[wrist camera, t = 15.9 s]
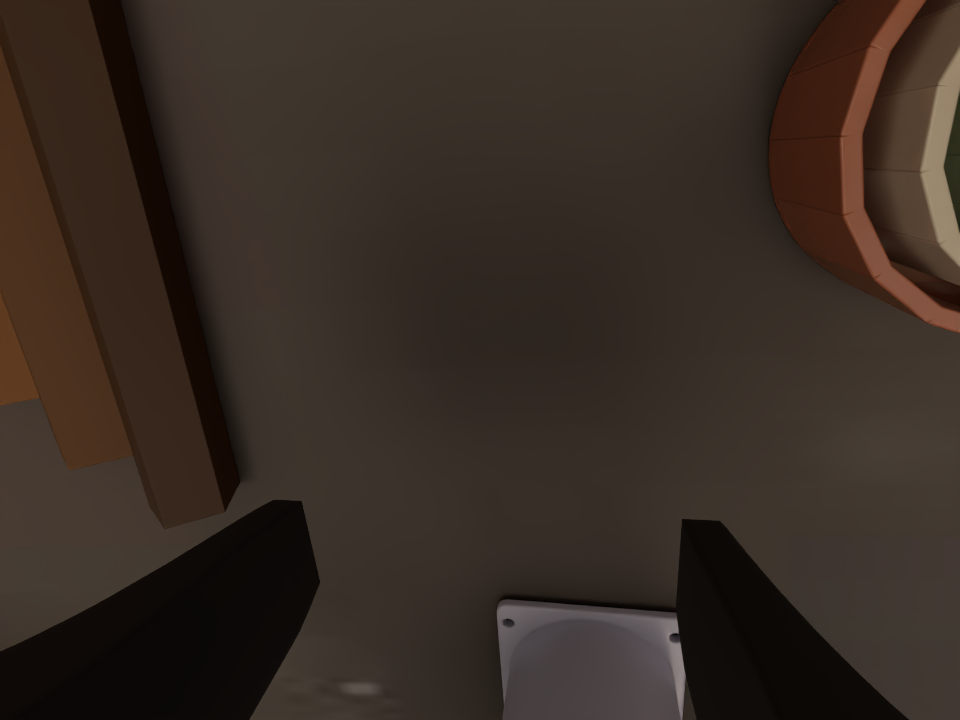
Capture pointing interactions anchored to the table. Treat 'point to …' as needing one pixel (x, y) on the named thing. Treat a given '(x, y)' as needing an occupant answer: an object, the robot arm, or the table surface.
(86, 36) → the pan flute
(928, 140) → the stack top cup
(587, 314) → the table surface
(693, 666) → the robot arm
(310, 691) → the table surface
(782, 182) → the stack base cup
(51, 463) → the table surface
